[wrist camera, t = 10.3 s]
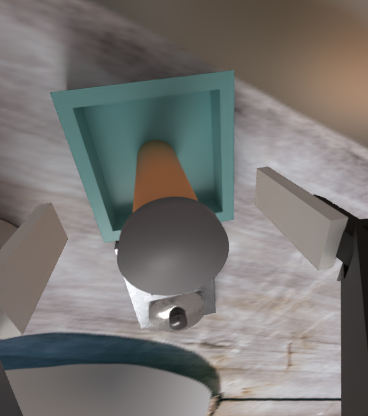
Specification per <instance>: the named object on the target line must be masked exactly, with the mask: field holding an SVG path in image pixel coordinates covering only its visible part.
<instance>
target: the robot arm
mask: <svg viewBox="0 0 368 416" xmlns="http://www.w3.org/2000/svg"><path fill="white" fill-rule="evenodd" d="M255 205H256V206H257V207H258V208H259V209H260V211H261V212H262V213H263V214H264V215H265V216H266V217H267V218H268V219H269V220H270V221H271V222H272V223H273V224H274V225H275V226H276V227H277V228H278V229H279V230H280V231H281V232H282V233H283V234H284V235H285V236H286V238H287V239H288V240H289V241H290V242H291V243H292V244H293V245H294V246H295V247H296V248H297V249H298V250H299V251H300V252H301V253H302V254H303V255H304V256H305V257H306V258H307V259H308V260H309V261H310V262H311V264H312V265H313V266H314V267H315V268H316V269H317V270H322V269H327V268H331V267H333V266H334V263H335V260H336V257H337V258H338V259H339V260H341V261H342V262H343V264H342V267H341V270H340V273H339V276H338V279H337V281H340V280H341V416H368V219H358V218H357V217H355V216H354V215H352V214H350V213H349V212H347V211H345V210H344V209H342V208H339V206H337V205H335V204H333V203H332V202H331V201H329V200H327V199H326V198H323V197H320V196H317V195H312V194H310V193H309V192H307V191H306V190H304V189H302V188H301V187H299V186H298V185H296V184H295V183H293V182H291V181H290V180H288V179H287V178H285V177H284V176H282V175H280V174H279V173H277V172H276V171H274V170H272V169H271V168H269V167H263V168H257V177H256V194H255ZM67 240H68V238H67V235H66V233H65V231H64V229H63V227H62V225H61V222H60V220H59V218H58V216H57V214H56V211H55V209H54V207H53V205H52V203H47V204H41V205H38V206H37V207H36V208H35V209H34V211H33V212H32V213H31V214H30V215H29V216H28V218H27V219H26V220H25V221H24V222H23V223H22V225H21V226H20V227H19V228H18V229H17V230H16V232H15V233H14V234H13V235H12V236H11V237H10V239H9V240H8V241H7V242H6V243H5V244H4V246H3V247H2V248H1V249H0V337H1V338H2V339H7V338H11V337H16V336H20V335H23V333H24V331H25V329H26V327H27V324H28V322H29V320H30V318H31V316H32V314H33V312H34V310H35V308H36V305H37V303H38V301H39V299H40V297H41V295H42V293H43V291H44V289H45V286H46V284H47V282H48V280H49V278H50V276H51V274H52V272H53V270H54V268H55V265H56V263H57V261H58V259H59V257H60V255H61V253H62V251H63V249H64V246H65V244H66V242H67ZM0 416H23V415H22V412H21V410H20V407H19V405H18V403H17V400H16V398H15V395H14V393H13V390H12V388H11V386H10V383H9V381H8V378H7V376H6V373H5V371H4V368H3V366H2V363H1V361H0Z"/></svg>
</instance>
